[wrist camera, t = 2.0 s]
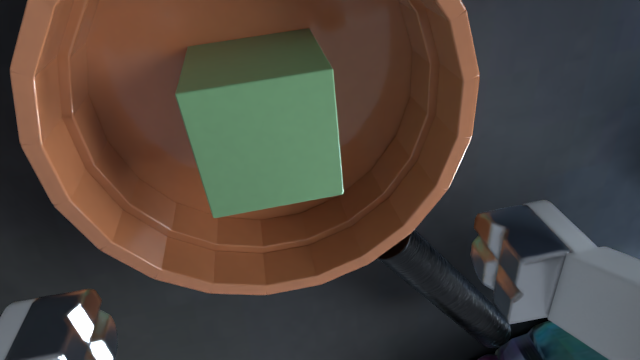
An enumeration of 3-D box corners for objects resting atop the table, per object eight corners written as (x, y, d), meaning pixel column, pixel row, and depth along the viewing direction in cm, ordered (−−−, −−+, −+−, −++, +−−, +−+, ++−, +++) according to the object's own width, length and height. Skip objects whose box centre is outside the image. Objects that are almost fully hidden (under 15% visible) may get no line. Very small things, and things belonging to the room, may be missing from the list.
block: (216, 152, 18) (213, 219, 15) (186, 46, 16) (174, 94, 12) (321, 134, 19) (344, 194, 15) (309, 27, 16) (333, 68, 12)
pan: (-20, 86, 16) (-95, 147, 12) (257, -252, 12) (270, -313, 9) (259, 268, 23) (265, 340, 19) (485, 89, 20) (545, 136, 16)
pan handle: (366, 237, 20) (378, 268, 18) (401, 210, 19) (417, 240, 18) (469, 324, 25) (486, 355, 23) (499, 305, 24) (518, 336, 23)
